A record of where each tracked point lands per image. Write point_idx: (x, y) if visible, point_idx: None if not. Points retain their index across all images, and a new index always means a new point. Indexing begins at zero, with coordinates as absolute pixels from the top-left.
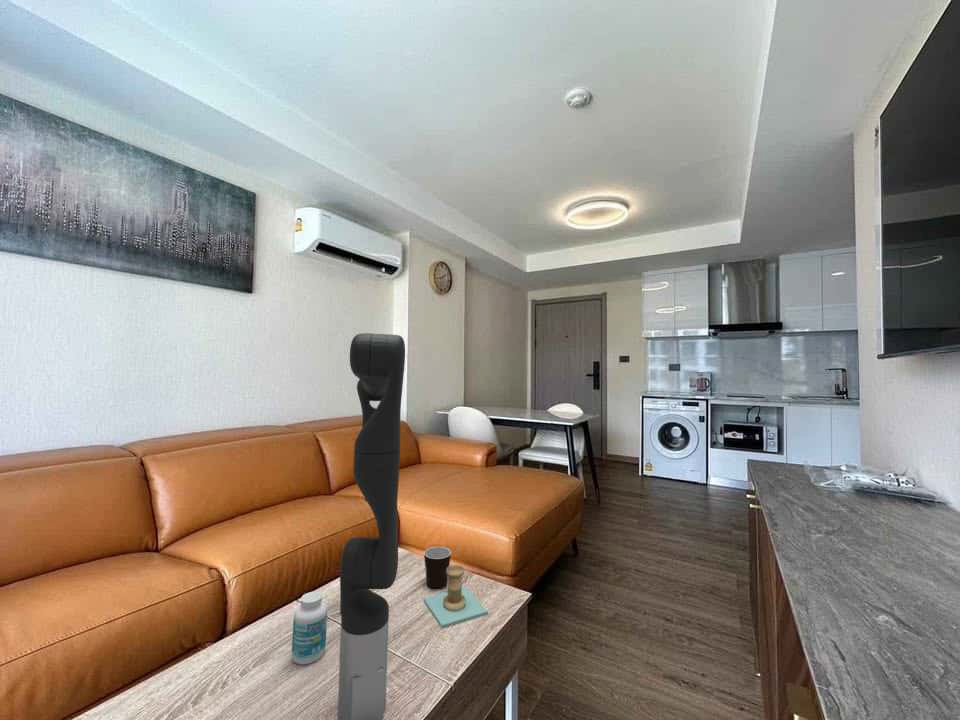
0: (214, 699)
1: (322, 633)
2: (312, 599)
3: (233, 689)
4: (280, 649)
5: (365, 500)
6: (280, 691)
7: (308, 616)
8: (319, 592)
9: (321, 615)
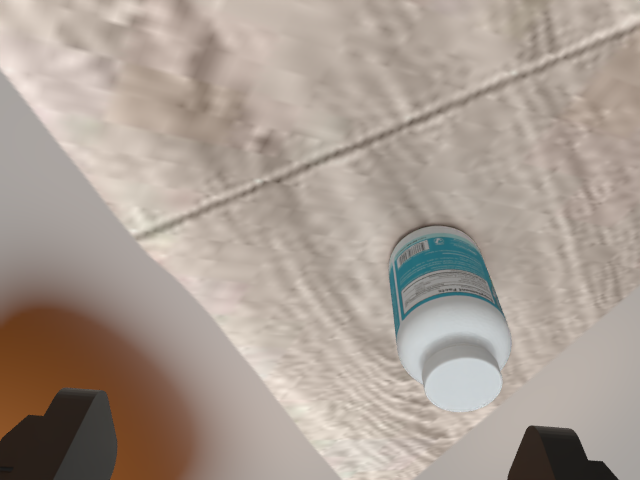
0: (453, 414)
1: (489, 281)
2: (483, 386)
3: None
4: (364, 311)
5: (111, 471)
6: (522, 326)
7: (501, 367)
8: (449, 362)
9: (508, 329)
